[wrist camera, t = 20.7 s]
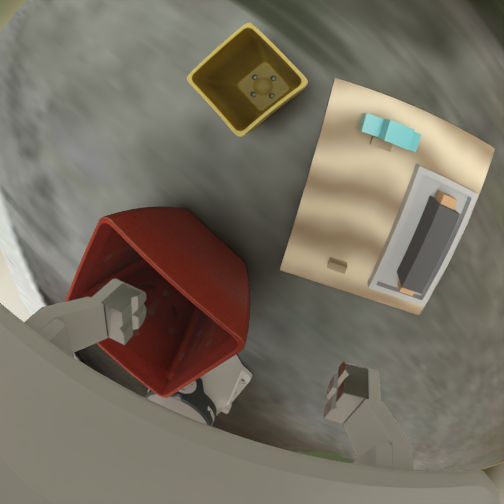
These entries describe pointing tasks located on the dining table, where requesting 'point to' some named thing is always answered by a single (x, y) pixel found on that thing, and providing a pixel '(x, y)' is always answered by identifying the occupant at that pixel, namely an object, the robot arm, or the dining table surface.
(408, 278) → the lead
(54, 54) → the dining table surface
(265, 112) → the flower pot
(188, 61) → the dining table surface
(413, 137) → the teal stepped block
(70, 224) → the dining table surface
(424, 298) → the tray
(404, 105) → the board
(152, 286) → the plant pot
